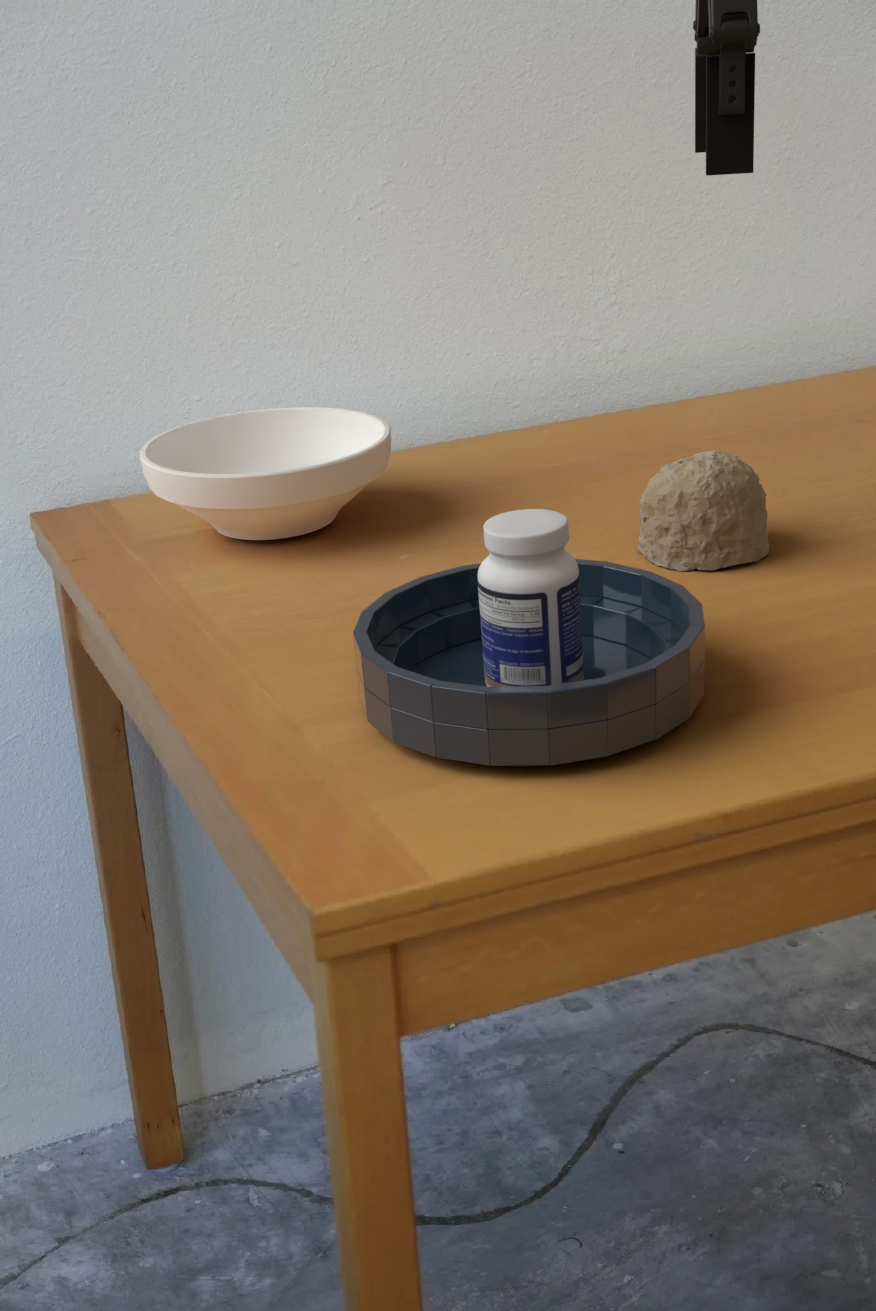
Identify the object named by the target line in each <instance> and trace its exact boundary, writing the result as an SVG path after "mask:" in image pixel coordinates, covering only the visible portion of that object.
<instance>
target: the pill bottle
mask: <svg viewBox="0 0 876 1311" xmlns="http://www.w3.org/2000/svg"><path fill="white" fill-rule="evenodd" d="M569 529H570V528H569V519H568V518H567V516H566V515H565V514H563V513H561V512H559V511H555V510H551V509H543V508H526V509H525V508H523V509H515V510H510V511H505V512H502V513H499V514H496V515H494V516H491V517H490V518H488V519H487V520H486V521H485V522H484V524H483V542H484V548H486V550H487V552H488V553H489V555H487V556H486V557H485V558H484V559H483V561H482V562H480V563H481V565H480V567H479V570H478V594H479V607H480V620H481V634H482V649H483V662H484V675H485V682H486V685H487V687H516V686H550V685H557V684H564V683H570V682H577V681H583V677H584V663H583V643H582V622H581V601H580V578H579V568H578V564H577V562H576V560H575V559H576V558H575V557H574V556H573V555H572V554H571V553H570V552H569V551H566V550H565V547H566V546H567V544H568V543H569V541H570V538H571V537H570V530H569Z"/></svg>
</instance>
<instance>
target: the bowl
mask: <svg viewBox="0 0 876 1311" xmlns="http://www.w3.org/2000/svg"><path fill="white" fill-rule="evenodd" d="M391 451H392V427H391V426H390V425H389V423H388V422H387V421H386V420H385V419H383V418H380V417H379V416H378V415H374V414H372V413H369V412H365V411H361V410H356V409H350V408H342V407H341V408H340V407H331V406H286V407H271V408H261V409H252V410H244V411H237V412H230V413H226V414H218V415H215V416H212V417H206V418H202V419H197V420H194V421H191V422H187V423H184V424H181V425H178V426H176V427H172V428H170V429H167V430H165V431H163V432H162V433H159V434H157V435H155V436H154V437H152V438H150V439H149V440H148V441H147V442H146V443H145V444H143V446H142V448H140V451H139V459H140V460H139V461H140V464H141V469H142V472H143V476H144V478H145V480H146V482H147V485H148V487H149V490H150V491H151V492H152V493H153V494H154V495H155V496H156V497H158V498H160V499H162V500H164V501H166V502H169V503H172V504H174V505H176V506H177V507H178V508H181V509H183V510H184V511H186V512H188V513H189V514H191V515H194V516H195V517H197V518H199V519H201V520H203V521H205V522H207V523H208V524H210V526H212V527H213V528H214V529H215V531H217V532H218V534H220V535H222V536H225V537H228V538H231V539H237V540H247V541H267V540H268V541H269V540H279V539H287V538H292V537H298V536H302V535H305V534H309V533H313V532H316V531H317V530H321V529H323V528H325V527H327V526H328V525H329V524H331V523H332V522H333V521H334V520H335V519H336V517H337V515H338V513H339V511H340V510H341V509H342V508H343V507H344V506H345V505H346V504H348V503H349V502H350V501H351V500H352V499H354V498H355V497H357V495H359V493H361V491H363V489H365V487H367V485H369V484H370V482H373V481H374V480H376V479H377V478H379V477H380V476H381V475H382V474H384V472H385V471H386V470H387V468H388V467H389V463H390V457H391Z"/></svg>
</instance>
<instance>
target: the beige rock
mask: <svg viewBox="0 0 876 1311" xmlns="http://www.w3.org/2000/svg"><path fill="white" fill-rule="evenodd" d="M766 497H767V493H766V491H765V490H764V488H763V485H762V484H761V483H760V477H759V475H758V474H757V473H756V471H755V470H754V468H753V467H752V466H751V465H749V464H747V463H745V462H744V461H743V460H742V459H741V458H739V456H738V455H733V454H732V453H731V454H728V453H726V452H724V451H721V450H716V449H710V450H709V451H702V452H698V453H695V454H694V455H692V456H683V457H681V458H679V459H678V460H675V461H673V462H671V463H667V464H663V465H662V466H660V470H659V471H658V472H656V473H655V475H654V476H651V478H650V479H649V481H648V483H647V486H646V488H645V489H644V490H643V493H642V495H641V498H640V499H639V500H638V503H639V505H640V510H639V523H640V529H639V537H638V539H637V543H638V545H637V551H638V552H639V553H641V554H642V555H643V558H645V559H647V560H648V561H649V562H651V563H653V564H654V565H655V566H656V567H657V566H658V567H663V568H666V569H667V570H676V571H679V572H686V571H693V570H695V569H697V570H698V571H715V570H720V569H725V568H729V567H735V566H739V565H746V564H751V563H757V562H759V561H760V560H761V559H763V558H765V557H766V556H767V555H769V553H770V542H769V539H768V536H769V532H768V510H767V502H766V501H767V499H766Z"/></svg>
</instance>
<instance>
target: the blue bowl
mask: <svg viewBox="0 0 876 1311" xmlns="http://www.w3.org/2000/svg"><path fill="white" fill-rule="evenodd" d="M574 559H575V560H576V562H577V564H578V568H579V578H580V601H581V622H582V643H583V663H584V677H583V681H577V682H570V683H564V684H557V685H550V686H516V687H487V685H486V682H485V675H484V662H483V649H482V634H481V620H480V607H479V594H478V570H479V567H480V565H481V563H482V562H479V563H472V564H466V565H460V566H456V567H452V568H448V569H446V570H441V571H437V572H434V573H430V574H426V575H422V576H419V577H417V578H415V579H412V580H410V581H408V582H406V583H404V584H402V585H398V586H397V587H394V588H393V589H390V590H388V591H386V592H384V593H382V594H381V595H380V596H379V597H378V598H377V599H375V600H374V601H373V602H372V603H371V604H369V605H368V606H367V607H365V608H364V609H362V611H361V612H360V614H359V616H358V619H357V621H356V624H355V627H354V628H353V631H352V638H353V640H352V641H353V650H354V659H355V661H354V662H355V666H356V667H355V672H356V680H357V681H356V682H357V692H358V699H359V703H360V705H361V707H362V711H363V713H364V716H365V719H366V721H367V723H369V725H371V726H372V727H374V728H375V729H376V730H378V731H379V732H380V733H381V734H383V735H384V736H385V737H387V738H388V739H389V740H390V741H392V743H395V744H397V745H400V746H403V747H405V748H408V749H412V750H413V751H417V752H419V753H422V754H424V755H428V756H430V757H433V758H437V759H443V760H450V761H458V762H464V763H470V764H476V765H482V766H491V767H492V766H493V767H494V766H495V767H509V768H510V767H512V768H528V767H529V768H531V767H547V766H548V767H549V766H558V765H566V764H573V763H579V762H584V761H589V760H593V759H594V760H595V759H599V758H606V757H608V756H612V755H615V754H618V753H621V752H624V751H627V750H630V749H633V748H635V747H639V746H641V745H645V744H647V743H650V742H653V741H655V740H658V739H660V738H661V737H662V736H664V735H666V734H667V733H669V732H670V731H672V730H673V729H675V728H676V727H678V726H680V725H681V724H683V723H685V722H686V721H687V720H689V719H690V717H691V716H692V714H693V713H694V711H695V709H696V708H697V707H698V705H699V703H700V702H701V700H702V699H703V697H704V696H705V693H706V683H705V682H706V680H705V679H706V624H705V614H704V608H703V604H702V603H701V602H700V600H698V599H697V598H696V597H695V596H694V595H693V594H692V593H691V592H690V591H689V590H688V589H687V588H686V587H685V586H684V585H682V584H680V583H677V582H675V581H673V580H671V579H668V578H666V577H664V576H662V575H659V574H658V573H655V572H653V571H651V570H650V571H649V570H646V569H641V568H637V567H632V566H628V565H623V564H620V563H615V562H611V561H606V560H595V559H594V560H593V559H582V558H574Z"/></svg>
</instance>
